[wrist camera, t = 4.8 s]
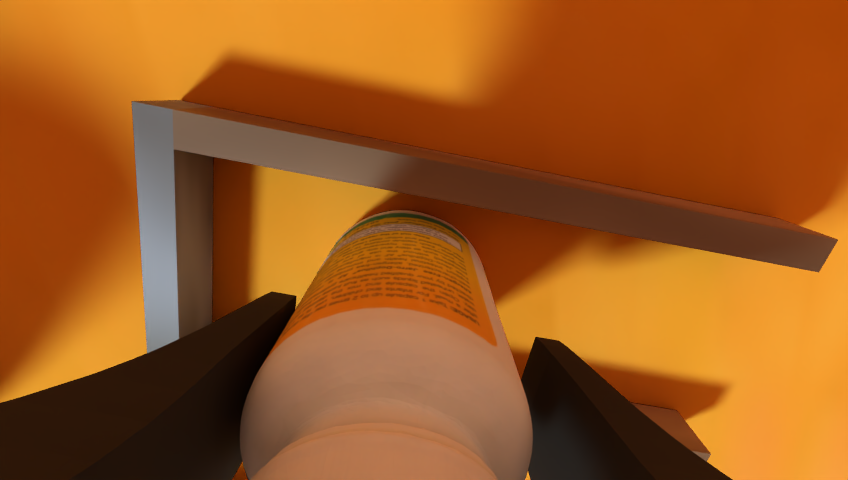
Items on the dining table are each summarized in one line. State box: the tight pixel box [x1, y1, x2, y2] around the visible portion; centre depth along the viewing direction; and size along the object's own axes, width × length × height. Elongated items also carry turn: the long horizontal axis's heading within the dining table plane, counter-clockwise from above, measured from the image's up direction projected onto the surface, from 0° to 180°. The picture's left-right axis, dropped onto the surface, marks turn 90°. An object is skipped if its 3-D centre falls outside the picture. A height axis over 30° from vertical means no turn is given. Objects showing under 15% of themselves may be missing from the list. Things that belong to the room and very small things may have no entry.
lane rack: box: [132, 100, 838, 462], centre depth 14 cm, size 17×19×2 cm
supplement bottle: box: [240, 210, 533, 480], centre depth 9 cm, size 5×5×10 cm
